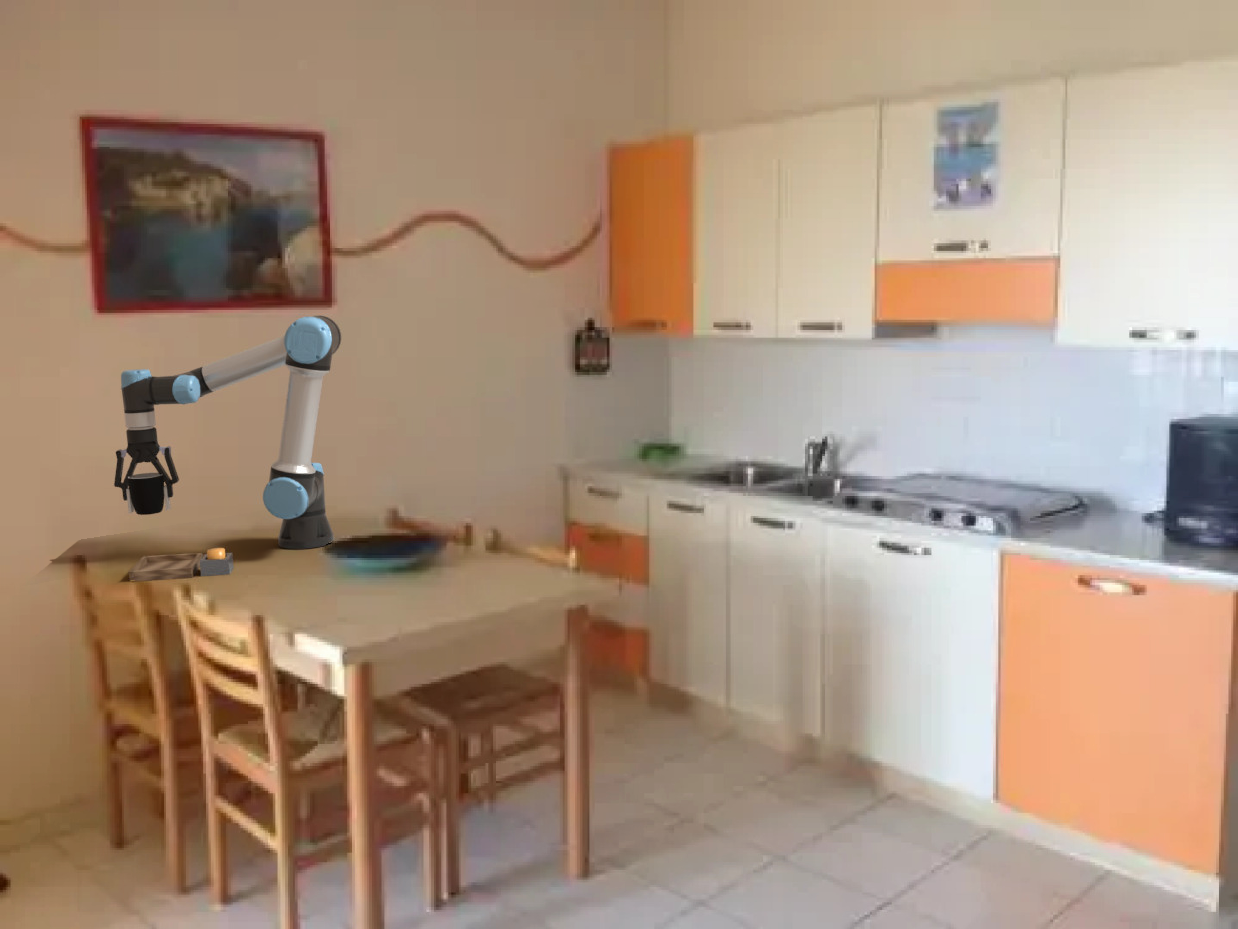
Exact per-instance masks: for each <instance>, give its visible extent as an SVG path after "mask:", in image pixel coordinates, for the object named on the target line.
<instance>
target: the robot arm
mask: <svg viewBox="0 0 1238 929" xmlns="http://www.w3.org/2000/svg"><path fill="white" fill-rule="evenodd" d="M341 342H342V332H341V330H340V328H339V325H338V324H337V323H336V322H335V321H334V320H333V319H332V318H331V317H328V316H324V315H313V316H304V317H300V318H298V319H296V320H295V321H293V322H292V323H291V324H290V325H289V326H288V328H287V329H286V331H285V334H284V335H283V336H280V337H277V338H275V339H273V340H269V341H266V342H264V343H261V344H259V345H255V346H254V347H251V348H248V349H246V350H242V351H241V352H238V353H234V354H231V355H229V356H227V357H225V358H221V359H218V360H216V361H213V362H210V363H208V364H205V365H203V366H201V367H200V366H199V367H197V368H195V369H192V370H189V371H186V372H183V373H180V374H179V373H178V374H175V375H165V376H152V374H151V371H150V369H148V368H146V369H145V368H141V369H138V368H137V369H127V370H123V371H122V372H121V373H120V381H121V382H120V386H121V387H120V390H121V396H122V403H123V404H122V405H123V412H124V424H125V428H127V429H126V441H127V442H126V443H127V447H126V448H124V449H118V450H116V451H115V456H116V466H115V474H114V475H115V476H114V483H113V485H114V486H113V487H115V488H120V489H121V491H122V499H123V501H127V509H128V510H127V511H128V514H132V513H133V512H135V510H134V507H133V504H132V500H131V496H130V491H129V486H128V477H129V478H131V476H132V475H134V472H135V470H136V468H137V465H138V464H142V463H151V465H152V466H153V467H154V468H155V470H156V471H157V473H159V474H160V475H162V474H163V479H164V508H165V511H170V510H171V509H172V508H171V498H173V496H174V488H173V485H175V484H177V483H178V482H179V481H180V478H179V474H178V472H177V469H176V467H175V462H174V460H173V457H172V447H171V446H160V445H159V442H158V441H159V440H158V432H157V428H156V427H155V426H156V425H157V422H156V414H155V413H156V412H155V406H159V405H187V404H196V403H197V402H198V401H199V398H203V397H204V396H206V395H208V394H211V393H213V392H216V391H220V390H221V389H225V388H227V387H230V386H232V385H235V384H238V383H241V382H243V381H246V380H249V379H251V378H255V377H257V376H260V375H262V374H265V373H267V372H271V371H273V370H276V369H279V368H281V367H283V366H285V367H286V368H287V369H288V370H289V376H288V378H289V379H288V385H287V393H286V399H285V406H284V413H283V421H282V427H281V428H282V429H281V434H280V443H279V450H278V458H277V460H275V461H274V462H273V463H271V466H270V472H269V480H268V483H266V485H265V487H264V489H263V492H262V501H263V505H264V507H265V508H266V510H267V511H268V512H269V513H270V514H271V515H272V516H274V517H276V518H278V519H280V520H281V519H282V520H281V525H280V528H279V534H278V537H277V538H278V539H277V540H278V541H277V542H278V546H279V547H280V548H283V549H288V550H289V549H290V550H296V549H297V550H302V549H303V550H304V549H306V550H307V549H313V548H320V547H324V546H327V545H326V544H328V543H329V542H331V541H333V540H334V541H335V538H334V532H333V530H332V527H331V524H330V521H329V519H328V517H327V515H326V497H325V494H326V493H325V482H324V475H325V473H324V470H323V468H324V467H323V465H322V464H321V463H320V462H312V458H313V450H314V445H315V444H314V443H315V436H316V430H317V429H316V428H317V423H318V416H319V415H318V414H319V409H320V408H319V407H320V401H321V396H322V395H321V393H322V386H323V380H324V376H325V375H327V374H328V373H330V372H331V368H332V359H333V355H334V354H335V353H336V352H337V351H338V349H339V348H340V345H341ZM160 452H161V454H162V456H164V460H165V462H166V465H167V468H168V472H169V474H170V476H169V474H168V473H167V471H166V469H165V468H164V467H163V464H162V463H161V462H160V460H159V458H158V455H159V453H160ZM127 454H128V456H129V457H130V458H132V459H131V461H130V464H129V466H128V469H127V471H126V473H125V477H124V480H122V479H123V471H124V462H125V457H126V456H127ZM170 477H171V478H170ZM328 545H329V544H328Z"/></svg>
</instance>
